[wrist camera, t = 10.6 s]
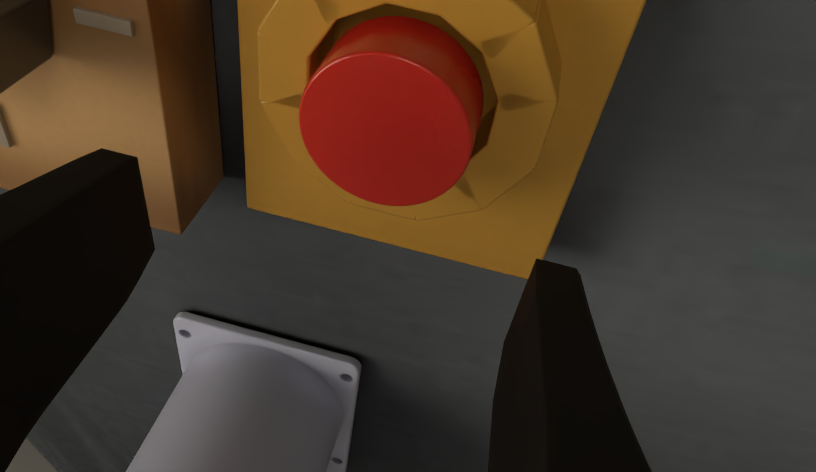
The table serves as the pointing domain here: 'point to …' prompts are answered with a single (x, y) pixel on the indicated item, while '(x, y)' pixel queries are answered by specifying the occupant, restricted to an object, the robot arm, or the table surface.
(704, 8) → the table surface
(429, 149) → the button
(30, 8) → the black block
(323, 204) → the button block
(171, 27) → the panel
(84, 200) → the robot arm
